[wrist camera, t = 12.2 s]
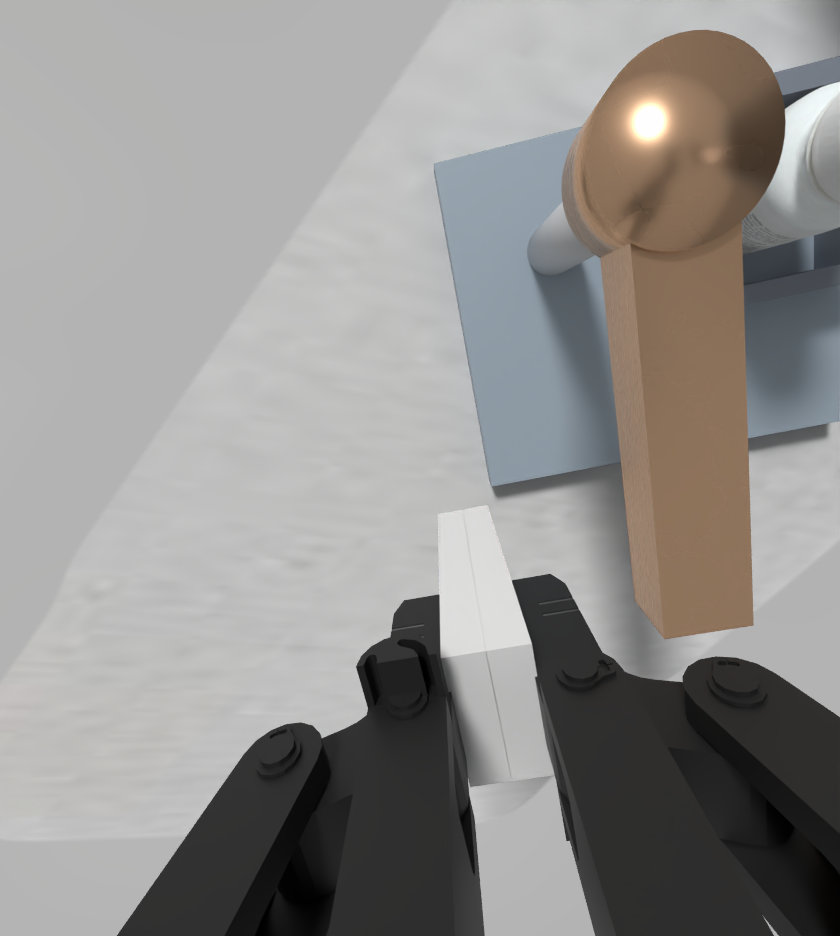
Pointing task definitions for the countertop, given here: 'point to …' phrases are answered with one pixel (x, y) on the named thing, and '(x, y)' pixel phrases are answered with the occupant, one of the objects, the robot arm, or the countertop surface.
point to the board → (584, 317)
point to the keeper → (680, 307)
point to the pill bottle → (801, 176)
